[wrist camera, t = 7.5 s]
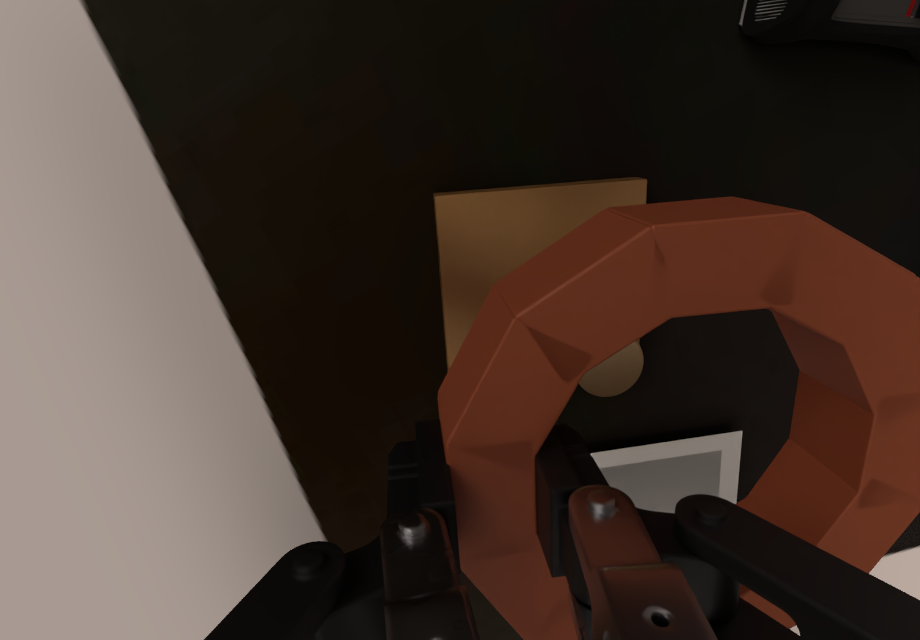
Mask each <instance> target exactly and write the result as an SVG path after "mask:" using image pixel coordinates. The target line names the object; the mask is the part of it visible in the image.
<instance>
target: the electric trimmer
mask: <svg viewBox="0 0 920 640" xmlns="http://www.w3.org/2000/svg"><path fill="white" fill-rule="evenodd" d="M744 2H746V3H744V5H743V6H744V7H743V11H742V13H743V14H742V16H740V17H742V18H740V19H741V20H740V21H741V22H740V23H739V25H741V26H742V28H741V29H742V31H743V34H746V35H749V36H751V37H752V39H753V40H754V41H756V42H759V43H766V44H773V45H774V44H785V43H791V42H795V41H800V40H804V39H819V40H835V41H851V42H862V43H872V44H880V45H886V46H891V47H896V48H901V49H906V50H907V51H908V52H909V54H910V55H911V56H912V58H913V59H915V60H920V0H745V1H744Z"/></svg>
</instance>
